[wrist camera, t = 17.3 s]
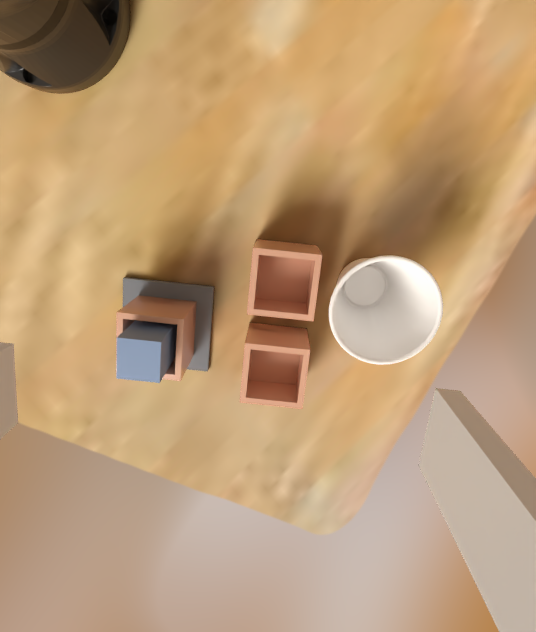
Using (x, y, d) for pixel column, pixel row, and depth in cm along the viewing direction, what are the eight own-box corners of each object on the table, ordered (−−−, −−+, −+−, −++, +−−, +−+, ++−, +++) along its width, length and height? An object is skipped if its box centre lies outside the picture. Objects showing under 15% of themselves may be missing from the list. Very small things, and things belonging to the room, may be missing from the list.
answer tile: (123, 360, 54) (122, 362, 53) (125, 277, 51) (123, 278, 50) (208, 369, 54) (207, 371, 53) (214, 286, 51) (213, 287, 50)
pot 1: (137, 349, 53) (116, 374, 46) (138, 295, 51) (116, 312, 44) (193, 355, 53) (180, 380, 46) (196, 301, 51) (183, 319, 44)
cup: (395, 226, 48) (426, 238, 38) (420, 311, 51) (456, 344, 40) (306, 259, 50) (313, 279, 39) (335, 339, 52) (348, 379, 42)
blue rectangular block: (142, 348, 50) (116, 378, 42) (142, 313, 49) (116, 337, 41) (178, 352, 50) (159, 382, 42) (180, 317, 49) (161, 342, 41)
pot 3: (244, 375, 54) (239, 402, 47) (249, 322, 52) (245, 343, 45) (299, 380, 54) (302, 408, 47) (306, 328, 52) (310, 349, 45)
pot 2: (251, 297, 51) (247, 314, 44) (256, 239, 49) (252, 247, 43) (309, 303, 51) (313, 321, 44) (316, 245, 49) (322, 255, 43)
